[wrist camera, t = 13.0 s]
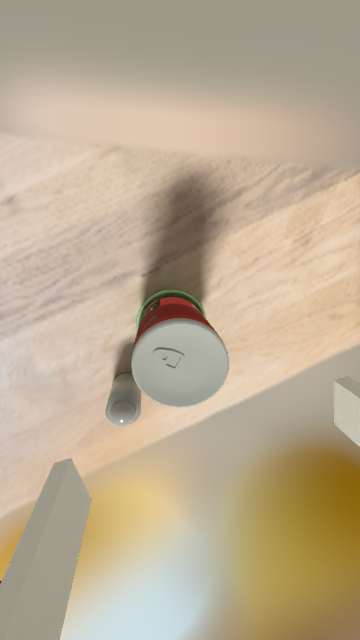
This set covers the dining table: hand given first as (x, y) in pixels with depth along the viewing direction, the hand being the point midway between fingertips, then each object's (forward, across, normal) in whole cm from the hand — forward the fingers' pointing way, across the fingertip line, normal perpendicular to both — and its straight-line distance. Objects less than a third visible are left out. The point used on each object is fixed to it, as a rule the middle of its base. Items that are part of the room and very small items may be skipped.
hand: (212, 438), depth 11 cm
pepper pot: (+23, +9, +9) cm, 26 cm away
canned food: (+18, 0, 0) cm, 18 cm away
